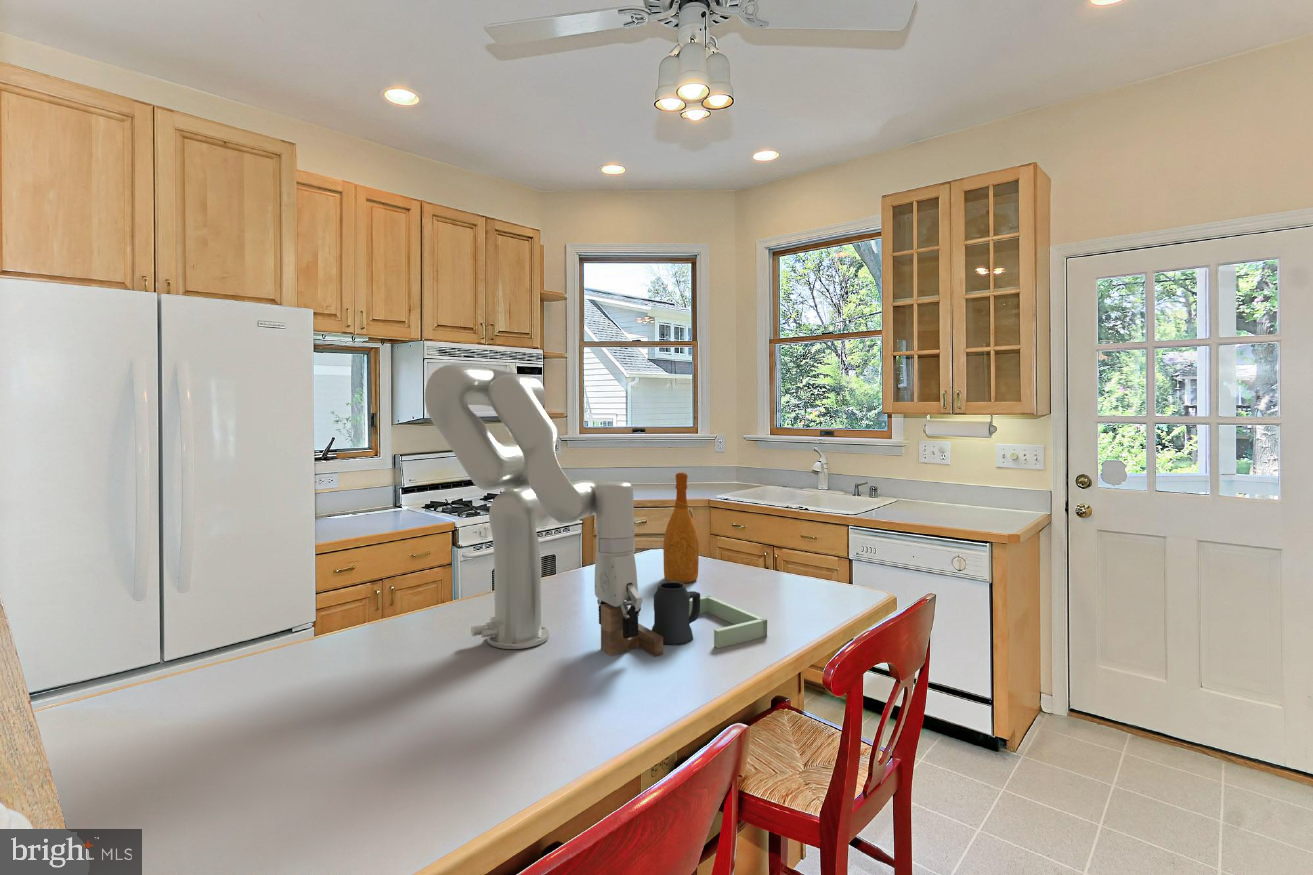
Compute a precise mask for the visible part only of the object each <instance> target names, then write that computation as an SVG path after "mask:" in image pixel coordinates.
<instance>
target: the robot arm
mask: <svg viewBox="0 0 1313 875" xmlns="http://www.w3.org/2000/svg"><path fill="white" fill-rule="evenodd" d="M542 384H543V383H541V382H540V381H539V380H538V379H537V378H535V377H533V376H530V375H526V374H525V375H524V374H519V373H514V372H511V371H505V370H502V369H501V370H500V369H496V368H492V367H486V366H479V365H470V364H460V363H454V364H452V363H451V364H446V365H442V366H440V367H439V368H437V369H435V370H434V371H433V372H432V373H431V375H430V376H429V378H428V380H427V383H426V385H425V390H424V403H425V407H426V411H427V414H428V416H429V419H431V422H432V423H433V425H434V426H435V428H437V431H439V433H440V434H441V435H442V437H443V439H444V440H445V441H446V442H447V444H448V445H449V448H450V449H451V451H452V452H453V454H454V456H455V457H456V459H457V460H458V462H459V463H460V465H461V466H462V468H463V470H464V471H465V473H466V474H467V475H468V477H469V479H470V480H471V482H472V483H473V484H474V485H475V486H476V487H478V489H480V490H483V491H493V490H498V489H499V490H500V489H504V490H503V491H502V492H500V493H499V494H497V495H496V496H495V498H494V499H493V500H492V502H491V505H490V506H489V512H488V517H489V518H488V519H489V525H490V531H491V537H492V544H493V566H494V567H493V570H494V571H493V572H494V573H493V576H494V577H493V578H494V579H493V580H494V582H493V583H494V584H493V586H494V616H491V617H490V618H489V620H490V621H488V622H485V624H482V625H480V624H479V625H474V626H471V627H470V633H471V636H472V637H476V636H480V637H481V638H486V641H487V642H486V643H488V644H489V645H490V646H491V647H494V648H498V649H504V650H521V649H522V650H523V649H527V648H533V647H536V646H539V645H542V644H543V643H545V642H546V641H548V639H549V637H550V632H549V631H550V630H549V629H548V628H547V627H545V626H543V625H542V552H541V544H540V541H539V537H538V534H537V528H539V527H542V526H545V525H546V524H548V523H550V522H551V521H552V520H553V519H554V520H555V521H557V522H558V523H562V524H572V523H574V522H578V521H580V520H581V519H585V518H588V517H590V516H594V515H595V528H596V529H595V531H596V532H595V533H596V554H595V561H594V562H595V564H594V595H595V597H596V598H597V600H596V602H597V605H598V624H599V626H601V605H602V604H610V605H612V606H614V607H619V606H621V609H622V612H623V614H624V618H622V626H623V638H625V639H627V638H631V637H635V636H638V623H639V617H640V612H641V610H642V608H641V606H642V603H643V597H642V595H641V594H640V593H639V589H638V588H639V587H638V573H637V564H636V557H635V551H636V546H635V545H636V544H635V543H636V542H635V540H636V539H635V509H634V505H635V504H634V501H635V500H634V488H633V485H632V484H631V483H629V482H627V481H617V480H615V481H606V482H603V481H597V480H590V479H579V480H576V481H575V480H574V481H570V479H569V478H568V476H567V475H566V473H565V472H564V470H563V469H562V467H561V465H560V463H559V460H558V457H557V454H556V446H557V444H556V443H557V441H558V437H559V430H558V428H557V426H556V425H555V424H554V422H553V421H552V419H551V418H550V416H549V415H548V414H547V412H546V411H545V409H544V405H545V403H546V400H547V399H546V398H547V397H546V396H547V394H546V390H545V387H544V386H543V385H542ZM469 406H485V407H491V408H492V409H493V411H494V412H495V413H496V415H497V417H498V419H499V420H500V422H501V423H502V425H503V426H504V427H505V429H506V430H507V431H508V434H509V435H510V436H511V439H513V441H514V442H515V443H513V442H512V443H511V442H501V443H500V442H498V441H497V440H496V439H495V437H494V436H493V435H492V434H493V433H491V431H490V430H489V428H488V427H487V425H486V424H485V423H484V422H485V421H483V420H482V419H481V418H480V417H479V416H478V415H477V414H476V413H475V412H474V411H473V410H472V409H471V408H470V407H469ZM626 606H628V610H627V607H626Z"/></svg>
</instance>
